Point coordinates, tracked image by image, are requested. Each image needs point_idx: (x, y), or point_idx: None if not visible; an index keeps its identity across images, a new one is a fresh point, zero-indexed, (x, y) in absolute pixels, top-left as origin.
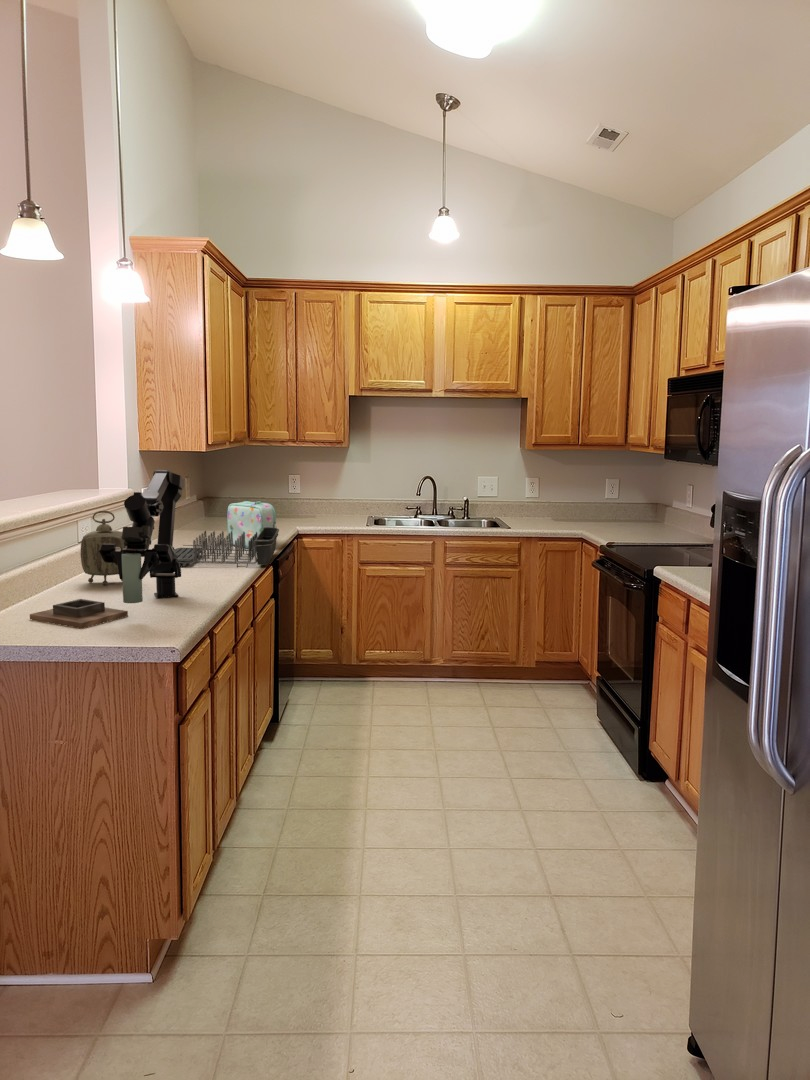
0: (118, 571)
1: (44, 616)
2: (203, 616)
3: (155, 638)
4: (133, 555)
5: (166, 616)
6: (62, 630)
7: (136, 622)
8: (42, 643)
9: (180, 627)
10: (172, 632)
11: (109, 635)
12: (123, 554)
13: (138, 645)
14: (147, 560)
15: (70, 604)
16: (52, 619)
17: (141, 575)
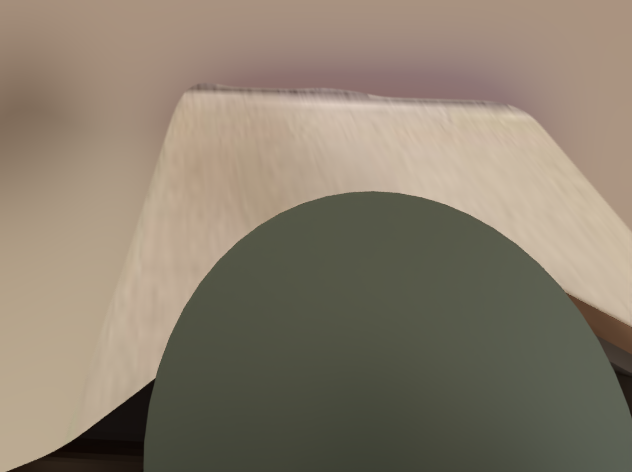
0: None
1: (622, 326)
2: (95, 396)
3: (231, 147)
4: (296, 248)
5: None
6: (485, 223)
7: None
8: (466, 120)
9: (175, 245)
10: (194, 195)
11: (345, 174)
12: (586, 406)
13: (259, 101)
14: (117, 430)
15: None
16: (574, 300)
17: None
